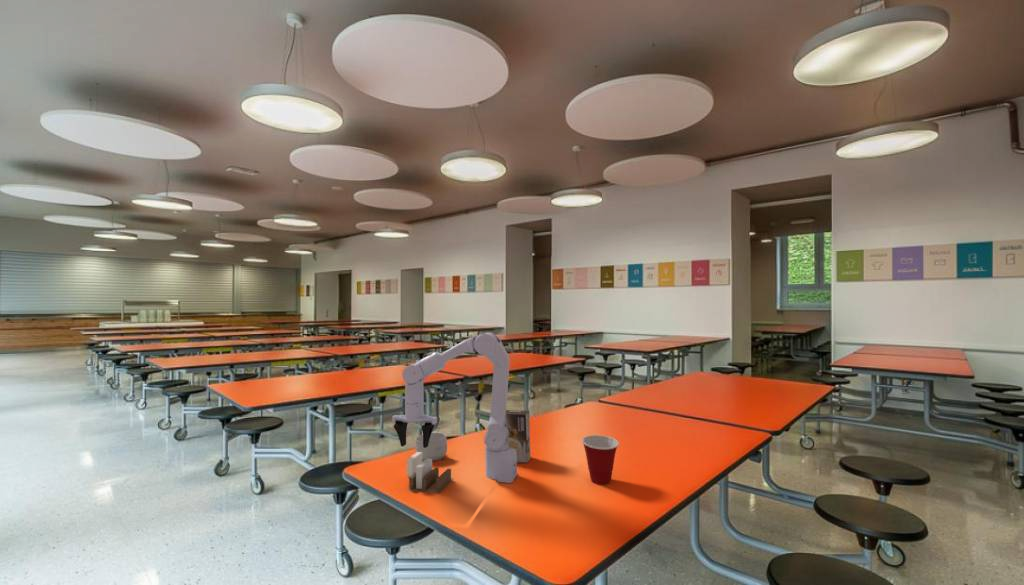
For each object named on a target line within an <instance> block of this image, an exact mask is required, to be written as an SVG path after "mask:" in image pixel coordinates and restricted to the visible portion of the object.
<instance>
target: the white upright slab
mask: <svg viewBox="0 0 1024 585" xmlns="http://www.w3.org/2000/svg"><path fill="white" fill-rule="evenodd" d="M422 462H423V460H422V452H417V451H416V452H415V453H414V454H412V455H411V456H409V457H408V458H407V459H406V477H409V478H410V477H411V476H412V475H413V474H415V473H416V467H417V466H418V465H419V464H420V463H422Z"/></svg>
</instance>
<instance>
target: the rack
mask: <svg viewBox="0 0 1024 585" xmlns="http://www.w3.org/2000/svg"><path fill="white" fill-rule="evenodd" d="M439 472H440V471H439V467H434V468H432V471H431V472H430V473H429V474H427V475H426V476H425V477H424V478H423V479H422V489H417V488H416V473H415V474H413V475H412V476H411V477H409V478H408V479H409V481H408V483H409V484H408V486H409V487H408V488H407V489H406V490H405V491H406V492H413V493H414V492H415V493H426V494H441V492H443V490H445V489H446V487H448V485H450V483H451V482H453V480H454V478H453V477H452V468H447V469H445V471H443V472H442V473H441V474H440V473H439ZM439 474H440V475H439Z"/></svg>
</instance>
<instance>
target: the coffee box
mask: <svg viewBox="0 0 1024 585" xmlns="http://www.w3.org/2000/svg"><path fill="white" fill-rule="evenodd" d="M506 419H507V421H506V424H507V427H508V430H509V434H508V437H507V439H506V441H507V443H508V445H509V447H510V448H514V449H516V452H517V463H523V464H525V463H529V461H530V459H531V458H532V457H531V434H530V433H531V430H530V428H531V427H530V426H531V425H530V410H522V409H521V410H519V409H518V410H516V409H513V410H512V409H506Z"/></svg>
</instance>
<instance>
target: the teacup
mask: <svg viewBox="0 0 1024 585" xmlns="http://www.w3.org/2000/svg"><path fill="white" fill-rule="evenodd" d="M447 437H448V434H446V433H445V432H441V431H440V432H438V431H432V433H431V436H430V439H429V444H428V447H426V448H423V434H420V435H417V437H415V438H414V441H415V449H416V450H415V451H416V452H422V461H424V460H426V459H432V462H434V461H440V460H443V458H444V457H445V455H446V454H447V451H448V440H447Z"/></svg>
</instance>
